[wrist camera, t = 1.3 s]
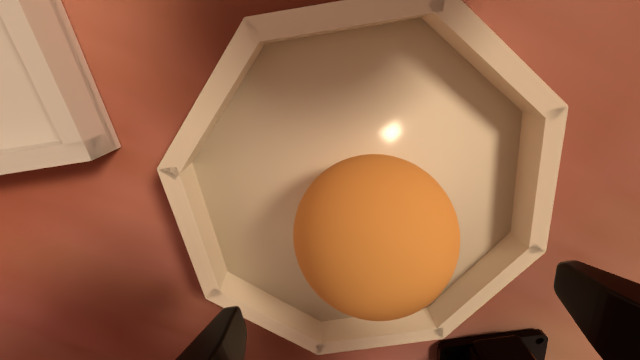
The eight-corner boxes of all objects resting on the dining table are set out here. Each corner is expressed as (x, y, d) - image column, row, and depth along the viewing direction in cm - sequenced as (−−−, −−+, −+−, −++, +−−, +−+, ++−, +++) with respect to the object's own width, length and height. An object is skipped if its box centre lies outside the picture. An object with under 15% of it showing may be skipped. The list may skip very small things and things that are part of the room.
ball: (426, 243, 15) (491, 350, 10) (308, 260, 15) (306, 374, 10) (423, 126, 13) (507, 177, 7) (285, 147, 13) (266, 213, 8)
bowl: (508, 295, 18) (534, 326, 16) (240, 331, 18) (230, 366, 16) (542, -25, 12) (591, -42, 10) (141, 43, 12) (108, 39, 10)
